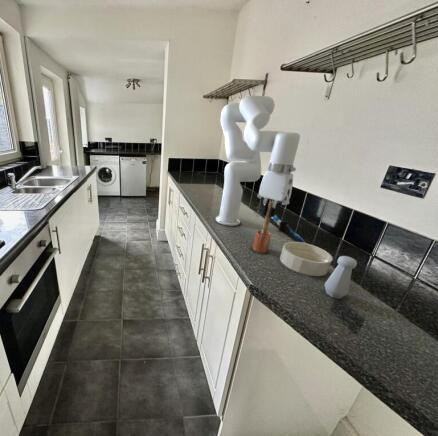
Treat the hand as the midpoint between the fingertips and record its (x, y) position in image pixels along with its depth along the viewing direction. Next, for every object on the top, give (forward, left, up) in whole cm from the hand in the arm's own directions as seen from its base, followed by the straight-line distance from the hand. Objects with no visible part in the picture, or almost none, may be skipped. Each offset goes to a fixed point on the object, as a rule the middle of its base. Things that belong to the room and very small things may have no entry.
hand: (268, 215), depth 90 cm
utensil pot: (0, 0, -16) cm, 16 cm away
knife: (-17, +22, -16) cm, 32 cm away
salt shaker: (+27, +10, -16) cm, 33 cm away
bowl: (+11, +11, -16) cm, 22 cm away
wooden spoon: (0, 0, -13) cm, 13 cm away
